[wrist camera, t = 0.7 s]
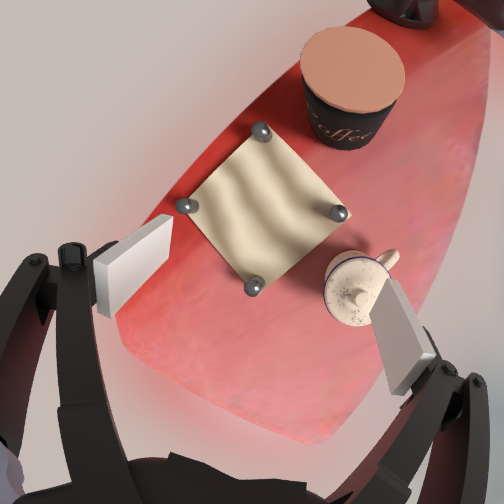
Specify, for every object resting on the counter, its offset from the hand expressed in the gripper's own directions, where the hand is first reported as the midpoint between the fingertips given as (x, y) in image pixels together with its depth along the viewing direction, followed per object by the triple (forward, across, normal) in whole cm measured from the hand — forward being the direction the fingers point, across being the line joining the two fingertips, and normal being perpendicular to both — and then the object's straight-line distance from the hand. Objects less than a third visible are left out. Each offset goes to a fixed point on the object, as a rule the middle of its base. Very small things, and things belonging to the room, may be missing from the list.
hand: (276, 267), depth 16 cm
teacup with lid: (+24, +14, -9) cm, 29 cm away
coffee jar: (+31, +5, +12) cm, 33 cm away
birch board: (+28, -3, -5) cm, 28 cm away
